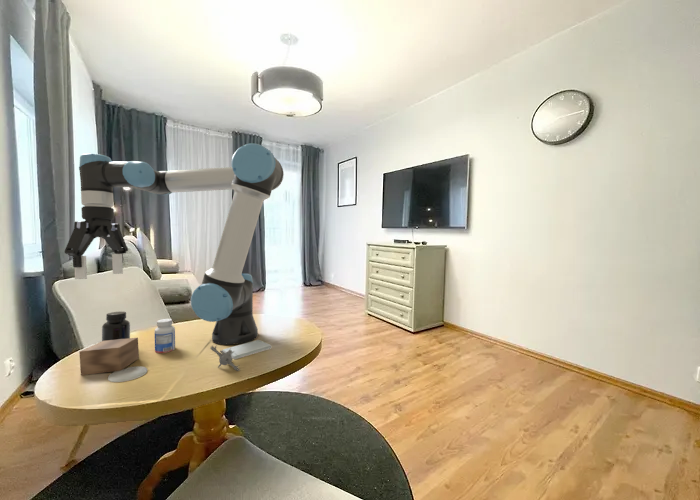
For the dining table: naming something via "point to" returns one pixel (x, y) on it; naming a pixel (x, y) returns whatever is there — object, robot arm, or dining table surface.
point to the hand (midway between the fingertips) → (100, 276)
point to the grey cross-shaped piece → (225, 358)
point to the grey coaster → (127, 374)
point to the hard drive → (248, 349)
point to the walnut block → (109, 356)
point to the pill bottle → (164, 336)
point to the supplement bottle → (116, 327)
